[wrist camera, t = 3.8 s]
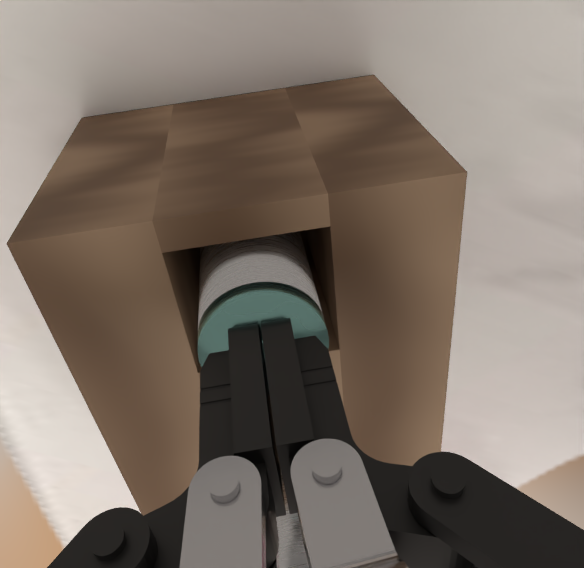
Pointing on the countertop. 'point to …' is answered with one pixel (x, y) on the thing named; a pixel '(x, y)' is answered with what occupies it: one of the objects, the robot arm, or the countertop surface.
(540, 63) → the countertop surface
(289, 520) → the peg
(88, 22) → the countertop surface
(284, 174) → the walnut block
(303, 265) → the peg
